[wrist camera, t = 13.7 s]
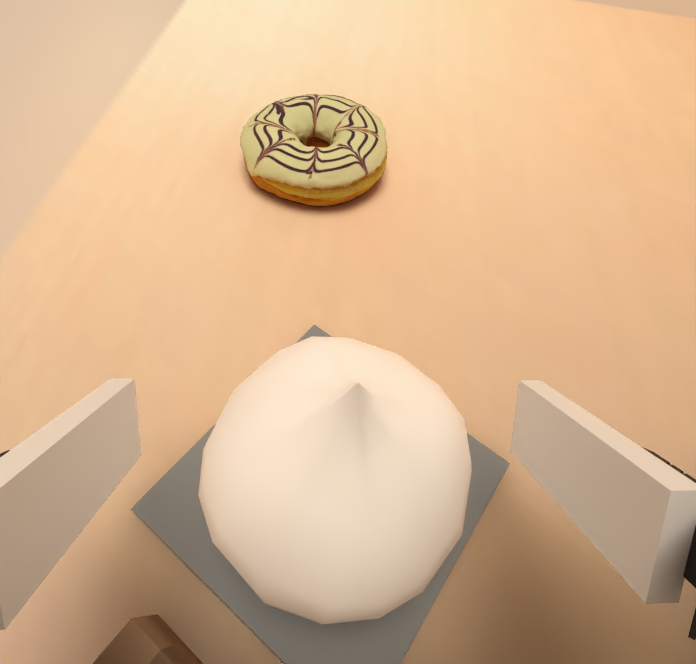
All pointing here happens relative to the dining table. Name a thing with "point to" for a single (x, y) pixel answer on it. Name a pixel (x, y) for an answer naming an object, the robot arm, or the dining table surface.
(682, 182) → the dining table surface
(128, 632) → the walnut collar
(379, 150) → the decorated donut
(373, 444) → the teardrop
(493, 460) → the grey mat
